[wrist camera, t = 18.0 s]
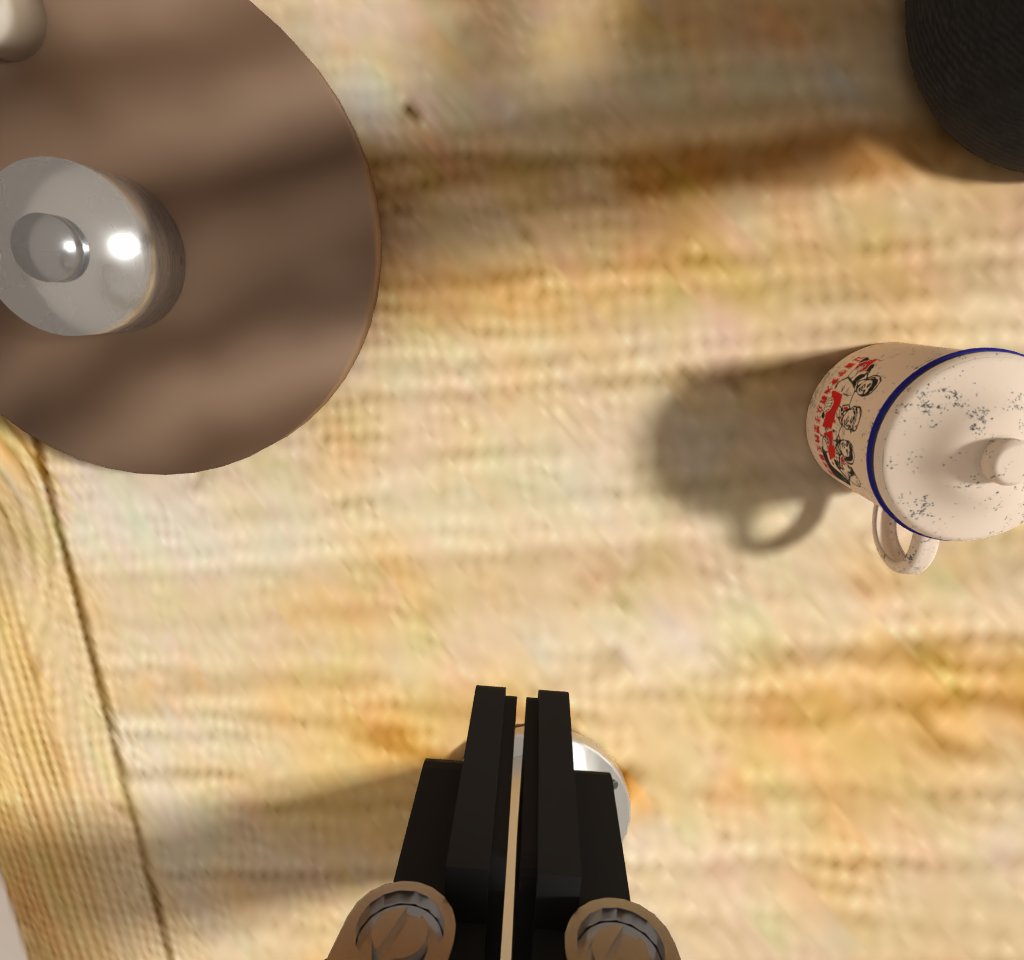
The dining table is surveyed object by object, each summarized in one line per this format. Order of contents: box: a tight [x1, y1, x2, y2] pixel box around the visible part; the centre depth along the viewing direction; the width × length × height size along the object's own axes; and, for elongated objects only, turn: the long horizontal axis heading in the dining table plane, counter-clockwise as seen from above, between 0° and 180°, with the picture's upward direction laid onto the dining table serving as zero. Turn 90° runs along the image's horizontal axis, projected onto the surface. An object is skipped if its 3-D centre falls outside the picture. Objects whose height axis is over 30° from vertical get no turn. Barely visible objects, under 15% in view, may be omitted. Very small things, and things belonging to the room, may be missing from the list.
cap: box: [0, 156, 186, 336], centre depth 33 cm, size 8×8×5 cm
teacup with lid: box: [806, 342, 1024, 574], centre depth 34 cm, size 12×9×12 cm
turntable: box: [0, 0, 381, 475], centre depth 34 cm, size 26×26×6 cm
